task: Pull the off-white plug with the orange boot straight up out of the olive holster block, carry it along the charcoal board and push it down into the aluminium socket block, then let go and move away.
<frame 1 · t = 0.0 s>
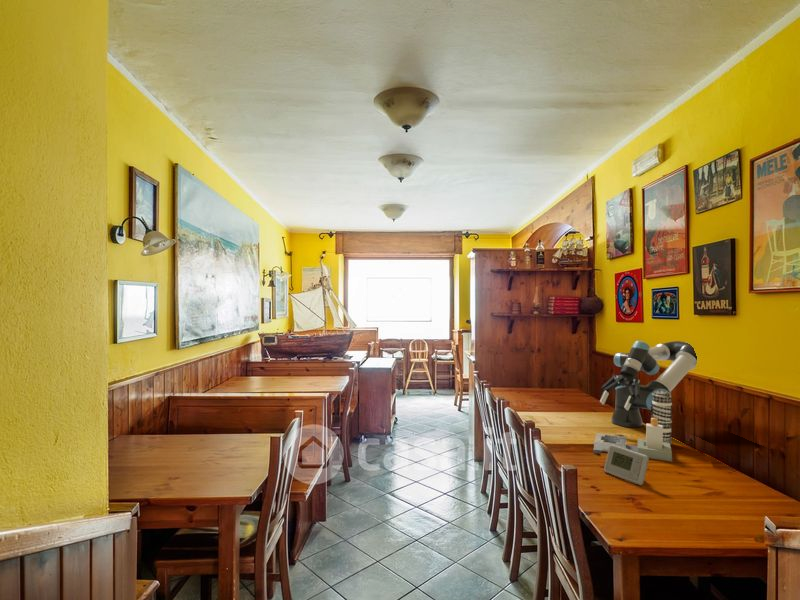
hand: (613, 405, 226), 15 cm above the table, tool tilted 35°, fingers open, 13 cm apart
plug: (653, 453, 198), point 1 cm above the table, touching board
digital clock: (625, 478, 174), on the table
decorative candle: (661, 446, 214), on the table
socket: (610, 450, 206), resting on board
holster: (653, 456, 198), resting on board
board: (631, 453, 202), on the table
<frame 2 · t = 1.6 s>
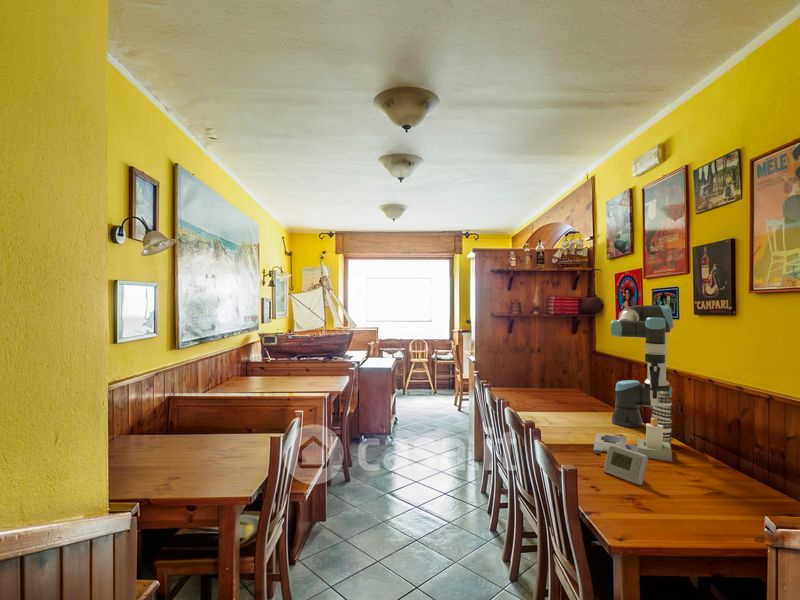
hand: (654, 403, 198), 23 cm above the table, tool pointing down, fingers open, 13 cm apart
nothing on the table moved.
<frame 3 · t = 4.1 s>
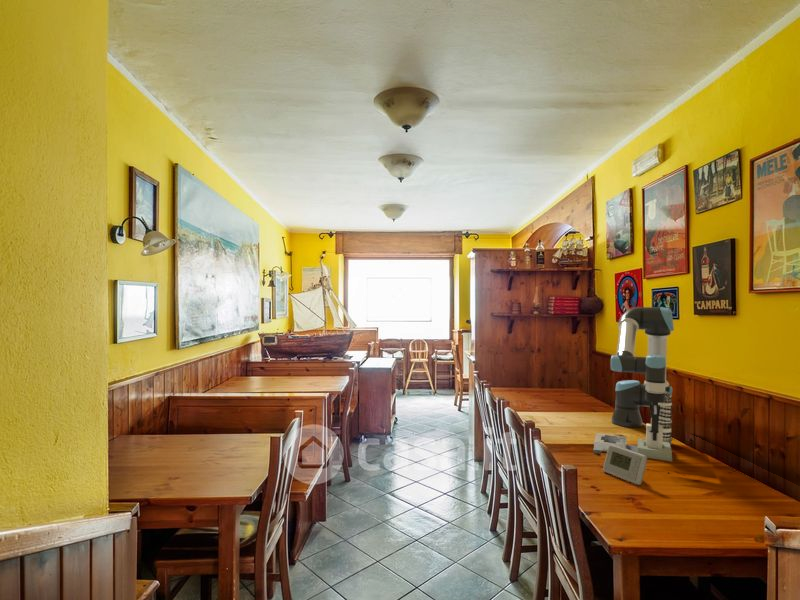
hand: (654, 445, 198), 5 cm above the table, tool pointing down, fingers closed on plug, 4 cm apart
plug: (653, 453, 198), point 2 cm above the table, touching board, gripper
everything else where it was.
when the fingers open (6 cm above the table, at t = 10.6 s): plug drops 1 cm, resting on board.
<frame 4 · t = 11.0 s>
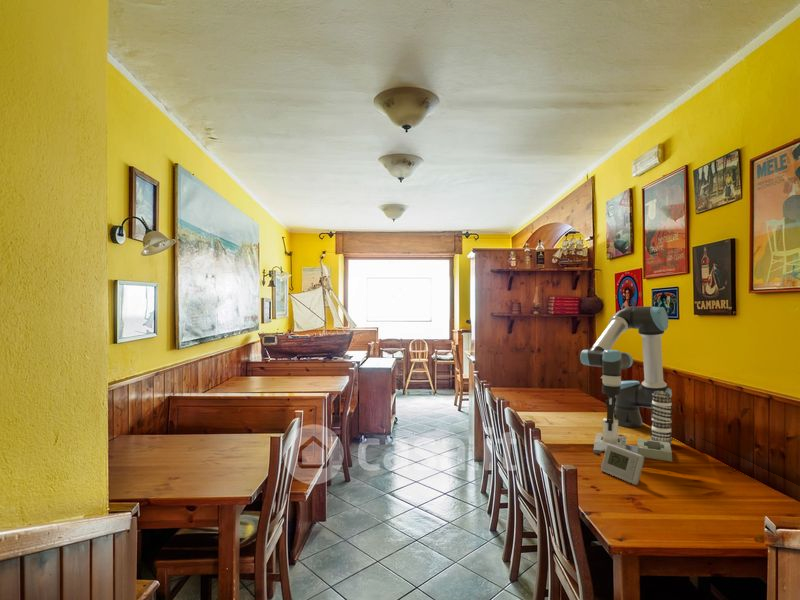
hand: (610, 434, 206), 7 cm above the table, tool pointing down, fingers open, 10 cm apart
plug: (610, 446, 206), point 1 cm above the table, touching board
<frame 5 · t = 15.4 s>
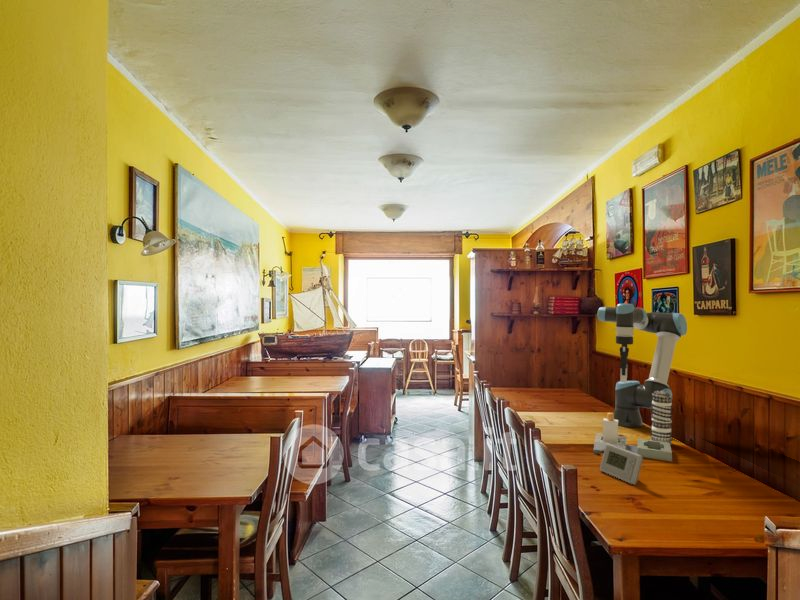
hand: (623, 380, 222), 29 cm above the table, tool pointing down, fingers open, 13 cm apart
at the end: plug 0.1 cm off-centre on the socket, point 1.5 cm above the socket's base; plug tilted 0°; the gripper is holding nothing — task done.
